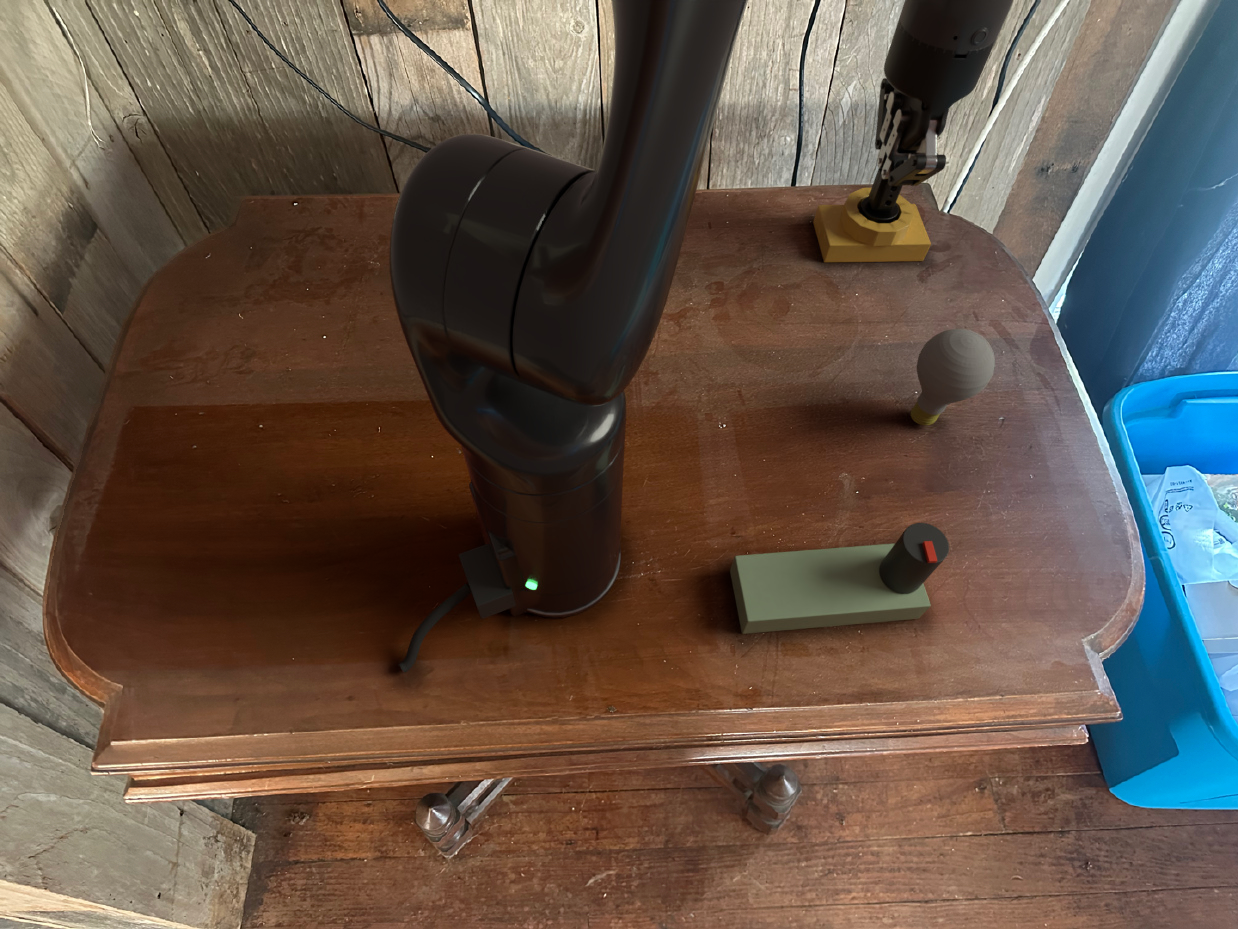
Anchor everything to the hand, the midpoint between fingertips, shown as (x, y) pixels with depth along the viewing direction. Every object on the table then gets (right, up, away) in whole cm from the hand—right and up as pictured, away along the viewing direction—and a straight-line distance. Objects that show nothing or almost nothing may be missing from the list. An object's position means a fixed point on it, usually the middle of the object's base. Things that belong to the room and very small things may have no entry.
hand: (879, 205), depth 72 cm
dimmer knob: (-5, -33, -19) cm, 38 cm away
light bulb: (+1, -21, -8) cm, 23 cm away
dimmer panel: (-10, -34, -17) cm, 40 cm away
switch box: (0, -2, +3) cm, 4 cm away
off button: (0, -1, +1) cm, 2 cm away
